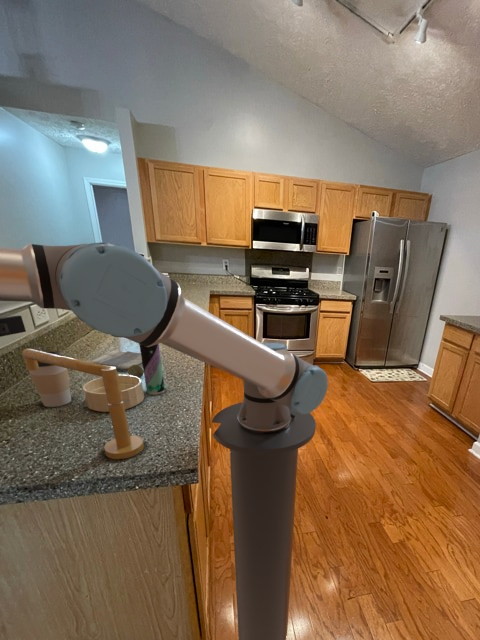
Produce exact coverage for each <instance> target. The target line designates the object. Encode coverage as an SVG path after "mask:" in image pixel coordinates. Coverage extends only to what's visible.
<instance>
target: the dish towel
mask: <svg viewBox="0 0 480 640" xmlns="http://www.w3.org/2000/svg"><path fill="white" fill-rule="evenodd" d="M90 362H91V363H95V364H100V365H104V366H112V367H116V369H117V371H122V372H128V370H129V367H130V366H132V365H139V366H141V367H143V364H142V358H141V352H133V351H129V350H127V351H121V350H116V349H114V350H113V351H111V352H108V353H106V354H104V355H102V356H100V357H97V358H95V359H93V360H91V361H90Z"/></svg>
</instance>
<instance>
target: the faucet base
mask: <svg viewBox="0 0 480 640" xmlns="http://www.w3.org/2000/svg"><path fill="white" fill-rule="evenodd" d="M108 408H109V412H108V413H109V416H110V422H111V426H112V430H113V435H114V438H112V439H110V440H109V441H108V442H106V443H105V445H104V446H103V450H104V453H105V456H106V457H107V458H109V459H113V460H125V459H129V458H132V457H135V456H137V455H138V454H140V453H141V452H142V451H143V450H144V448H145V443H144V439H143V437H141V436H139V435H136V434H135V435H134V434H131V433H130V428H129V423H128V418H127V414H126V409H125V407H124V402H123V401H122V402H120V403H118V404H109V403H108Z"/></svg>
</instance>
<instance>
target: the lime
mask: <svg viewBox="0 0 480 640" xmlns="http://www.w3.org/2000/svg"><path fill="white" fill-rule="evenodd" d="M127 373H128V374H127V375H131V376H136V377H139V378H140V379H141V378H143V377H144V370H143V366H139V365H132V366H130V367H129V370H128V371H127Z"/></svg>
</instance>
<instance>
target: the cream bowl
mask: <svg viewBox="0 0 480 640" xmlns="http://www.w3.org/2000/svg"><path fill="white" fill-rule="evenodd" d="M118 380H119V385H120V390H121V395H122V400H123V402H124V407H125V410H128V409H131V408H134V407H136V406H138V405H139V404H141V403H142V402H143V401H144V399H145V393H144V388H143V381H142V379H141V378H139V377H136V376H131V375H129V374H118ZM82 392H83V396H84V401H85V404H86V405H85V406H86V407H87V408H88V409H89V410H92V411H96V412H101V413H110V412H109V408H108V401H107V396H106V391H105V387H104V382H103V378H102V377H101V376H99V377H97V378H94V379H91V380H89V381H87V382H85V383H84V384H83V385H82Z"/></svg>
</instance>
